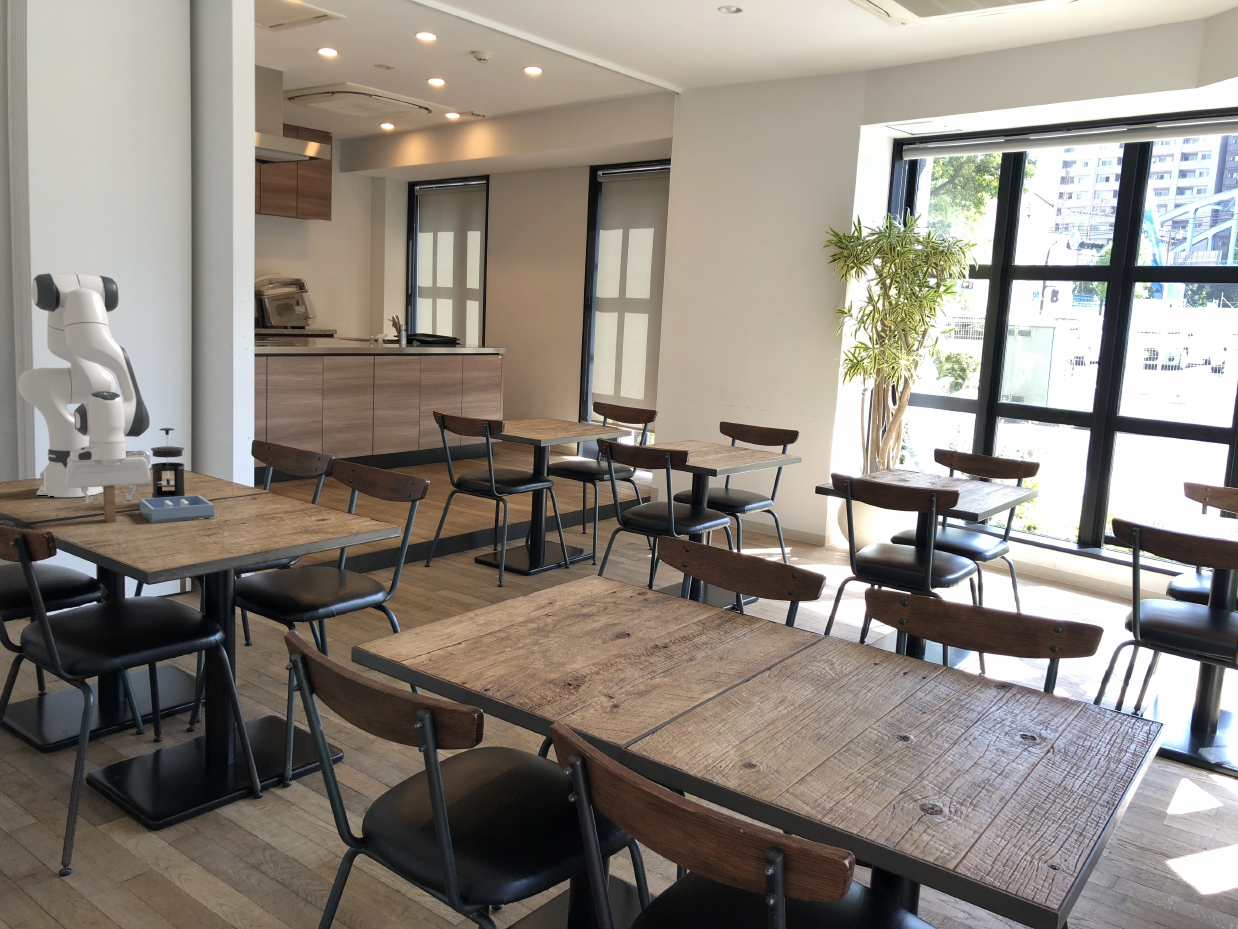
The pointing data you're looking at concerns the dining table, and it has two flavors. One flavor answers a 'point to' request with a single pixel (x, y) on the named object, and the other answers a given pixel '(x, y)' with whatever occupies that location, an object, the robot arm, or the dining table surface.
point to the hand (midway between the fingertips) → (109, 502)
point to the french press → (168, 466)
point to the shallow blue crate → (176, 508)
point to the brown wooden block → (109, 504)
